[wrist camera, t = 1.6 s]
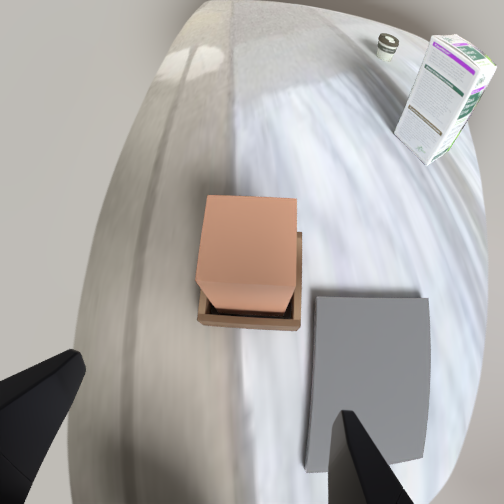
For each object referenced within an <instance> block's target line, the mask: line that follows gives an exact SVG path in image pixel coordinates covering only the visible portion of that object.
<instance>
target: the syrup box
mask: <svg viewBox="0 0 504 504" xmlns="http://www.w3.org/2000/svg"><path fill="white" fill-rule="evenodd" d="M496 68H497V65H496V64H495V63H494V62H493V61H492V60H491V59H490V58H489V57H488V56H487V55H486V54H484V53H483V52H482V51H481V50H479V49H478V48H477V47H475V46H474V45H473V44H471V43H470V42H468V41H466V40H465V39H463V38H461V37H460V36H458V35H457V34H453V35H434V36H432V37H431V40H430V43H429V45H428V48H427V51H426V54H425V57H424V59H423V62H422V65H421V67H420V70H419V72H418V75H417V78H416V80H415V83H414V85H413V88H412V90H411V93H410V95H409V98H408V100H407V103H406V105H405V108H404V110H403V112H402V115H401V117H400V119H399V122H398V124H397V126H396V129H395V131H394V134H395V135H396V136H397V137H398V138H399V139H400V140H401V141H402V142H403V143H404V144H405V145H406V146H407V147H408V148H409V149H410V150H411V151H412V152H413V153H414V154H415V155H416V156H417V157H418V158H419V159H420V160H421V161H422V162H423V163H424V164H425V165H426V166H427V165H429V164H430V163H432V162H433V161H435V160H437V159H438V158H439V157H441V156H442V155H443V154H445V153H446V152H447V151H449V149H450V148H451V146H452V145H453V143H454V141H455V140H456V138H457V137H458V135H459V134H460V132H461V130H462V129H463V127H464V126H465V124H466V122H467V121H468V119H469V117H470V116H471V114H472V112H473V111H474V109H475V107H476V105H477V104H478V102H479V100H480V98H481V96H482V95H483V93H484V91H485V89H486V87H487V86H488V84H489V82H490V80H491V78H492V76H493V74H494V72H495V70H496Z"/></svg>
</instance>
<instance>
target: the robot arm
mask: <svg viewBox="0 0 504 504" xmlns="http://www.w3.org/2000/svg"><path fill="white" fill-rule="evenodd" d="M85 372H86V366H85V364H84V361H83V358H82V355H81V353H80V352H79V351H76V350H74V349H69V350H67V351H64V352H62V353H60V354H58V355H56V356H54V357H52V358H49V359H47V360H45V361H43V362H41V363H39V364H36V365H34V366H32V367H30V368H28V369H26V370H24V371H21V372H19V373H17V374H15V375H13V376H11V377H8V378H6V379H4V380H2V381H0V504H24V502H25V499H26V497H27V495H28V493H29V490H30V488H31V486H32V483H33V481H34V479H35V477H36V475H37V472H38V470H39V468H40V466H41V464H42V462H43V460H44V458H45V456H46V454H47V452H48V450H49V447H50V446H51V443H52V441H53V439H54V438H55V436H56V434H57V432H58V430H59V428H60V426H61V424H62V422H63V420H64V419H65V417H66V415H67V413H68V411H69V409H70V407H71V405H72V403H73V401H74V399H75V396H76V394H77V391H78V389H79V387H80V384H81V382H82V380H83V377H84V375H85ZM328 504H414V503H413V502H412V500H411V499H410V497H409V496H408V494H407V493H406V491H405V490H404V489H403V487H402V485H401V483H400V482H399V480H398V479H397V477H396V476H395V474H394V473H393V471H392V470H391V468H390V466H389V465H388V463H387V462H386V460H385V459H384V457H383V456H382V454H381V452H380V451H379V449H378V448H377V446H376V445H375V443H374V442H373V440H372V439H371V437H370V435H369V434H368V432H367V431H366V429H365V428H364V426H363V425H362V423H361V421H360V420H359V418H358V417H357V415H356V414H355V412H354V411H352V410H341V411H340V412H339V413H338V415H337V417H336V419H335V421H334V423H333V425H332V431H331V443H330V454H329V464H328Z"/></svg>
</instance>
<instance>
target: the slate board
mask: <svg viewBox="0 0 504 504" xmlns="http://www.w3.org/2000/svg"><path fill="white" fill-rule="evenodd" d="M430 368H431V343H430V316H429V301H428V298H360V297H323V296H317V297H316V298H315V315H314V348H313V370H312V388H311V403H310V417H309V429H308V440H307V450H306V460H305V471H306V473H319V472H328V464H329V454H330V443H331V431H332V425H333V423H334V421H335V419H336V417H337V415H338V413H339V412H340V411H341V410H352V411H354V412H355V414H356V415H357V417H358V418H359V420H360V421H361V423H362V425H363V426H364V428H365V429H366V431H367V432H368V434H369V435H370V437H371V439H372V440H373V442H374V443H375V445H376V446H377V448H378V449H379V451H380V452H381V454H382V456H383V457H384V459H385V460H386V462H387V463H388V465H390V464H396V463H401V462H406V461H410V460H415V459H419V458H423V452H424V445H425V438H426V429H427V420H428V409H429V394H430Z"/></svg>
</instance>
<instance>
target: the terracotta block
mask: <svg viewBox="0 0 504 504" xmlns="http://www.w3.org/2000/svg"><path fill="white" fill-rule="evenodd" d="M296 257H297V199H292V198H274V197H253V196H225V195H208V196H207V202H206V208H205V214H204V221H203V227H202V234H201V241H200V248H199V255H198V262H197V270H196V277H195V281H196V282H197V284H198V285H199V287H200V288H201V289H202V291H203V292H204V293H205V295H206V296H207V298H208V299H209V300H210V302H211V303H212V304H213V306H214V307H215V308H216V310H217V311H218V312H219V313H229V314H243V315H259V316H279V317H283V315H284V313H285V310H286V308H287V306H288V304H289V301H290V299H291V297H292V294H293V292H294V290H295V287H296Z"/></svg>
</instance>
